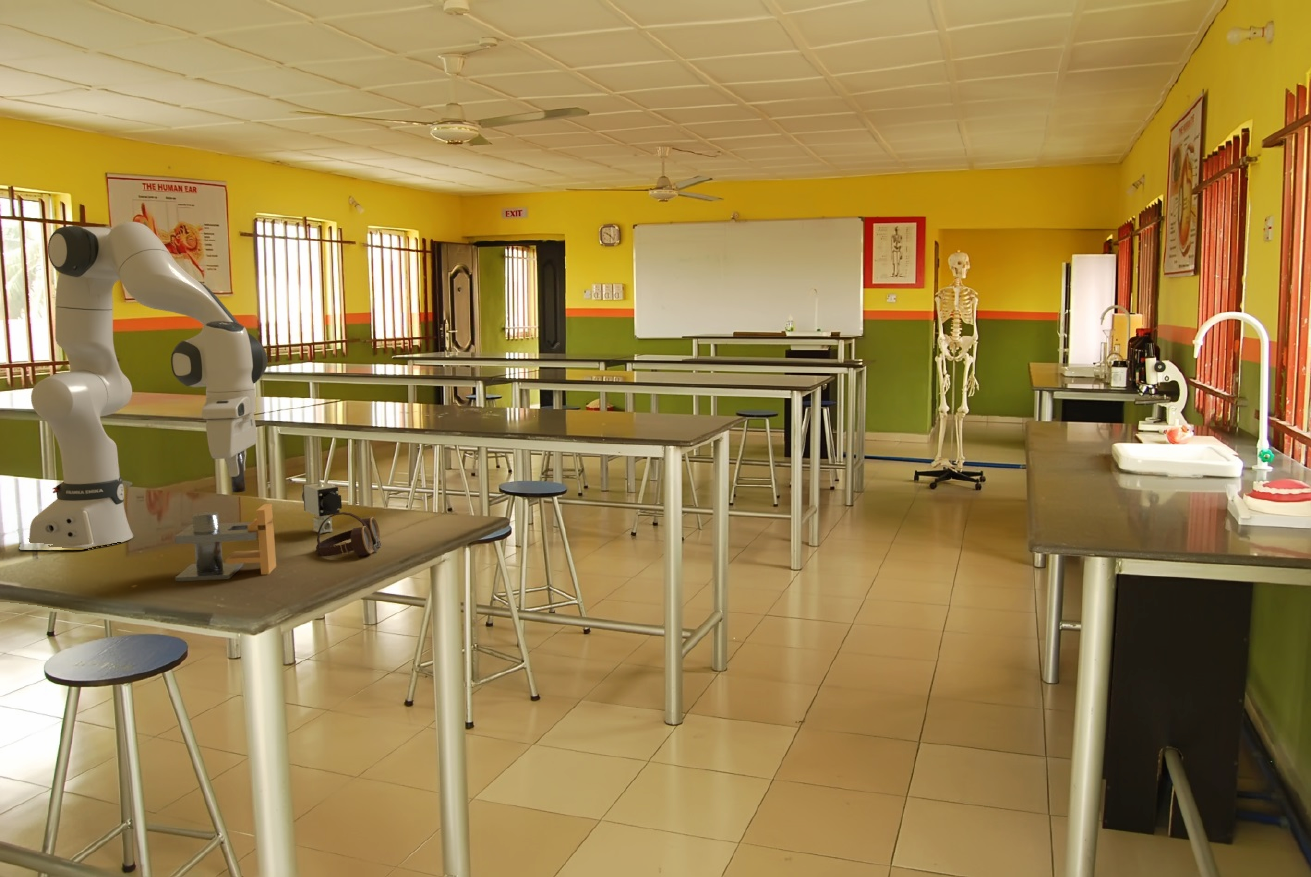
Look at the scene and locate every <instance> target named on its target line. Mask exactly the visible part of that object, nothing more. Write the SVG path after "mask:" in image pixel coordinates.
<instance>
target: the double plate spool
mask: <svg viewBox="0 0 1311 877" xmlns="http://www.w3.org/2000/svg"><path fill="white" fill-rule="evenodd" d="M191 516H192V524H190V525H188V526H187V527H186V528H184V529H183V530H181V531H180V532H178V533H177V534H176V535H174V536H173V537H174V538H173V539H174V544H175V545H176V544H178V545H179V544H194V549H195V550H194V551H195V552H194V553H195V554H194V555H195V563H190V565H189V566H187V567H186V568H185V569H184V570H183V571H180V573H178V575H177V576H174V578H175V579H174V580H175V582H191V581H192V582H193V581H195V582H197V581H211V580H212V581H213V580H230V579H231V578H232V577H233V576H234V575H235V574H236V573H237V572H239V570H240V569H241V568H242V567H243V566H244V563H236V564H226V561H225V562H224V561H223V549H222V543H224V542H245V541H257V539H258V540H259V538H258V530H254V531H248V525H249V524H250V523H251V522H252V521H247V522H246V521H245V522H243V521H242V522H222V523H220V513H219V512H218V511H204V512H202V511H201V512H197V513H194V514H192V515H191Z"/></svg>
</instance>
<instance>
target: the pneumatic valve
mask: <svg viewBox="0 0 1311 877" xmlns="http://www.w3.org/2000/svg"><path fill="white" fill-rule="evenodd" d="M301 498H302V502H303V505H304V506H303V508H304V511H305V512H308V513H309V514H312V515H314V517H313V518H311V519H312V521H313V525H312V526H313V528H312V531H313V532H315V533H317V534H318V531H319V528H320V526H321V524H322V523H323V522H324V520H326V519H327V518H328V517H329V516H331V515H333V514H336V513H341V512H340V509H342V508H343V507H342V495H341V494H339V487H338V486H336V485H335V484H334V485H333V484H329V483H325V482H323V481H322V480H318V481H317V482H314V483H309V484H302V494H301ZM316 516H317V517H316ZM332 521H333V517H330V518H329V519H327V520H326V521H325V523H324V524H323V525H322V528H321V531H320V535H321V534H323V533H328V532H330V533H333V531H334V529H333V528H332V527H333V523H332Z"/></svg>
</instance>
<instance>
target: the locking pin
mask: <svg viewBox="0 0 1311 877" xmlns="http://www.w3.org/2000/svg"><path fill="white" fill-rule="evenodd" d="M237 461H238V466H240V474H239V475H238V476H236V477H231V478H230V479H231V489H232V493H243V492H246V489H247V488H246V481H245V479H246V478H245V471H244V465H243V452H240V453H238V459H237Z"/></svg>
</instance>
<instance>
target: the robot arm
mask: <svg viewBox="0 0 1311 877" xmlns="http://www.w3.org/2000/svg"><path fill="white" fill-rule="evenodd" d="M47 244H48V245H47V254H48V259H49V262H50V263H51V265H52V267H53V268H54V269H55V271H57V272H58V277H57V282H56V289H55V290H56V292H55V315H54V316H55V319H54V320H55V321H54V322H55V325H54V327H55V329H54V330H55V334H54V335H55V337H54V338H55V342H56V344H57V345H58V347H60V348H61V349H62V350H63V351H64V353H65V355H66V357H67V360H68V363H69V364H68V365H69V369H70V370H69V371H63V372H58V373H55V374H54V373H53V374H52V375H49V376H47V377H45V378H43V379H41V380H39V381H38V382H37V383H36V384H35V385H34V386H33V389H32V391H31V393H30V394H31V395H30V399H31V405H32V408H33V410H34V412H36V414H37V415H38V416H39V417H40V418H41V419H43V420H44V421H45V422H46V423H47V424H48V425H49V428H50V429H51V431H52V432H53V435H54V437H55V439H56V441H57V445H58V448H59V451H60V452H59V453H60V460H61V468H62V475H63V481H61V483H59V484H57V485H56V486H55V487H53V488H52V490H53V491H52V493H53V494H55V493H56V499H55V500H54V501H52V502H51V503H50V504H49V505H48V506H47V507H45V508H44V509H43V510H42V511H41V512H39V513H38V514H37V515H36V516H34V517H33V519H32V521H31V524H30V527H29V537H28V539H29V542H30V543H44V544H53V545H51V546H50V545H48V546H49V547H62V548H87V547H88V548H89V547H92V546H97V545H105V544H111V543H117V542H121V543H124V542H126V541H129V540H131V539H133V537H134V534H133V532H132V530H131V527H130V524H129V521H128V518H127V513H126V510H125V504H124V501H125V489H124V484H123V478H122V477H121V476H120V475H121V474H120V466H119V454H118V446H117V444H116V442H115V441H114V440H113V439H112V438H110V436H108V434H107V433H106V431H105V429H104V426H103V424H102V420H101V417H104V416H105V417H106V416H109V415H112V414H114V413H117V412H118V411H120V410H121V409H123V408H124V407H126V406H127V405H129V403H130V401H131V399H132V396H133V387H132V384H131V381H130V380H129V378H128V377H127V376H126V374H124V373H123V372H122V370H121V368H120V367H121V366H120V364H119V361H118V358H117V356H116V355H117V354H116V351H115V345H114V327H113V326H114V304H113V303H114V300H113V297H114V296H113V288H114V286H115V285H116V284H117V282H118V281H121V284H122V285H123V287H124V289H125V290H126V291H127V293H128V294H129V295H130V297H132V298H133V299H134V300H135V301H136V302H137V303H139V304H140V305H142V306H144V307H147V308H150V309H153V310H159V311H164V312H168V313H169V312H170V313H175V314H179V315H183V316H186V317H189V318H192V319H194V320H196V321H198V322H199V323H201V324H202V325H203V326H202V329H201V331H200V332H199V333H198V334H196V335H194V336H193V337H191V338H189V339H186V340H182V341H180V342H178V344H177V345H176V346H175V347H174V349H173V350H172V352H171V355H170V356H171V358H170V364H171V365H170V367H171V372H172V374H173V376H174V377H175V378H176V380H178V382H180V383H181V384H182V385H184V386H186V387H191V388H200V387H201V388H202V387H206V388H205V398H206V399H205V404H204V405H203V406H202V408H201V416H202V419H203V420H206V422H205V429H206V431H205V432H206V439H207V445H208V450H209V453H210V454H209V455H211V459H213V460H216V459H218V460H221V459H223V460H224V461H225V464H226V467H227V471H228V472H227V473H228V476H229V477H236V476H238V475H239V474H240V466H238V461H237V459H238V453H240V452H243V465H244V472H245V471H246V459H247V449H250V448H251V447H252V446H254V445H256V444H257V439H258V436H257V427H256V426H257V425H256V419H255V413H257V404H256V403H257V401H256V391H255V389H256V388H255V384H256V383H257V382H258V381H259V380H260V379H262V377H263V376H264V374H265V372H266V369H267V367H268V362H269V361H268V355H267V354H268V353H267V352H266V350H265V348H264V346H263V344H262V343H261V342H260V341H259V339H257V338H256V337H254V336H253V335H252V334H251V333H249V332H248V331H247V328H246V327H245V326H244V325H243V324H241V323H240V322H238V320H237V319H236V318H235V316H234V315H233V314H232V313H231V312H230V310H228V308H227V307H226V306H225V304H223V302H222V301H221V300H220V299H219V297H217V295H216V294H215V293H214V292H213V291H212V290H211V289H210V288H209V287H208V286H207V285H205V284H203V283H202V282H201V281H199V280H197V279H195V278H194V277H192V275H190V274H189V273H188V272H187V271H185V270H184V269H183V267H182V266H180V264H178V262H177V261H176V259H174V257H173V256H172V254H171V253H170V251H169V250H168V248H167V247H166V245H165V244H164V243H163V242H162V240H161V239H160V238H159V237H158V236H157V234H155V232H154V231H153V230H152V229H151V228H150V227H149V226H147V225H146V224H143V223H142V222H138V221H124V222H122V223H119V224H117V225H116V226H114V227H109V226H104V227H101V226H79V225H67V226H61V227H58V228H56V229H55V230H54V232H52V234H51V236H50V237H49V240H48V243H47ZM117 544H118V543H117Z"/></svg>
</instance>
